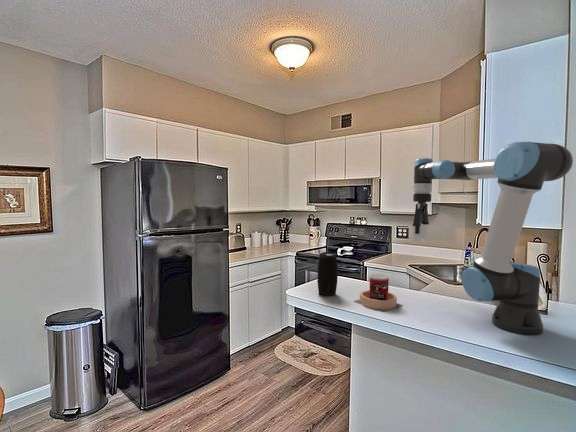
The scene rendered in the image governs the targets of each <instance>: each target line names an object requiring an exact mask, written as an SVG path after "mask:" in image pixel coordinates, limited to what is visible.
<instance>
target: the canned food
mask: <svg viewBox="0 0 576 432" xmlns="http://www.w3.org/2000/svg"><path fill="white" fill-rule="evenodd" d="M389 281H390V279H389V276H388V275H384V274H371V275H369V290H370V292H369V298H370V299H375V300H388V292H389V283H390V282H389Z"/></svg>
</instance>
